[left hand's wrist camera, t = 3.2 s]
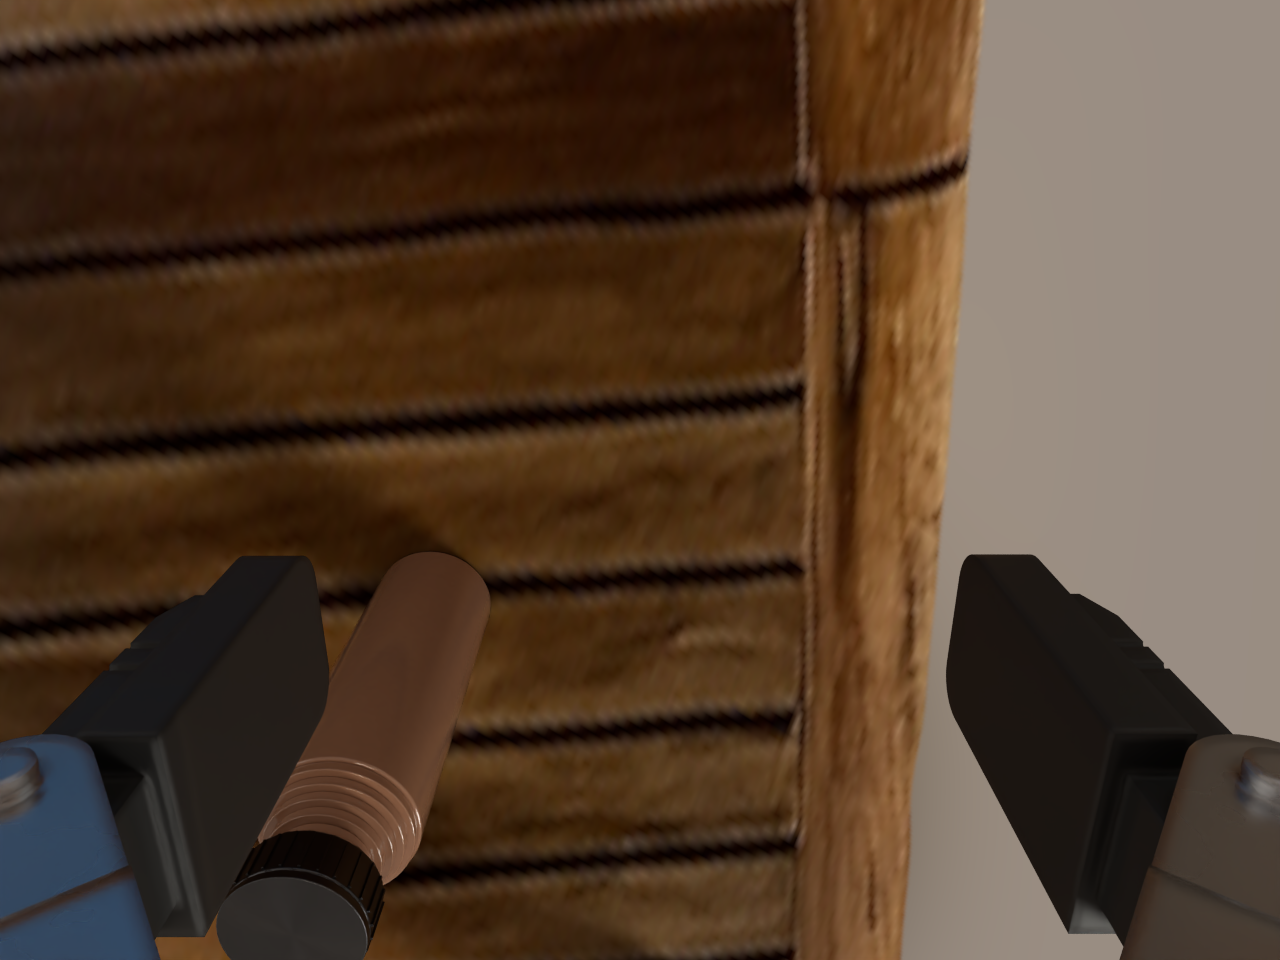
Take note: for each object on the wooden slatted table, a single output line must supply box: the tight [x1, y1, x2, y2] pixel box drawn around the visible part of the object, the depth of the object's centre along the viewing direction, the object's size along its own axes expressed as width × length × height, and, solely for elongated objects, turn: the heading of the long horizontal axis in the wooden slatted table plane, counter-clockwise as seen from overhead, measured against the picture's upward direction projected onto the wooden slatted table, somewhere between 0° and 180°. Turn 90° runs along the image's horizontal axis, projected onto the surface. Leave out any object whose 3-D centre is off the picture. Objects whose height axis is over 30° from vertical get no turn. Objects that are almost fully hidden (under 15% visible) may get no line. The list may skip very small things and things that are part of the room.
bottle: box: [258, 552, 491, 885], centre depth 35 cm, size 6×6×19 cm
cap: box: [216, 830, 385, 960], centre depth 27 cm, size 4×4×2 cm
